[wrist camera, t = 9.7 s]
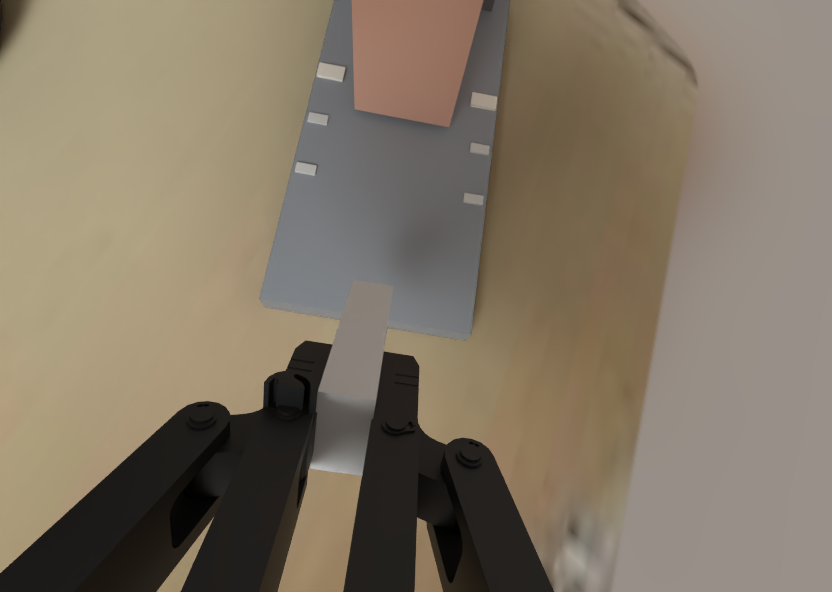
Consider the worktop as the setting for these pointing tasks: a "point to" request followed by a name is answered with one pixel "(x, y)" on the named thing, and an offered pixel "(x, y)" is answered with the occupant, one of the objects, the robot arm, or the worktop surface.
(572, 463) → the worktop surface
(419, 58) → the terracotta plug block
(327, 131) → the slate track
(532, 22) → the worktop surface
